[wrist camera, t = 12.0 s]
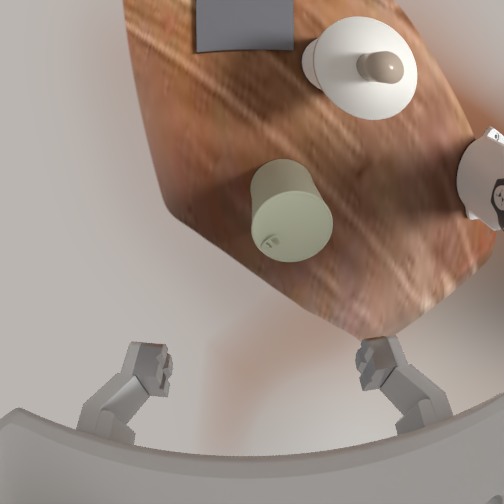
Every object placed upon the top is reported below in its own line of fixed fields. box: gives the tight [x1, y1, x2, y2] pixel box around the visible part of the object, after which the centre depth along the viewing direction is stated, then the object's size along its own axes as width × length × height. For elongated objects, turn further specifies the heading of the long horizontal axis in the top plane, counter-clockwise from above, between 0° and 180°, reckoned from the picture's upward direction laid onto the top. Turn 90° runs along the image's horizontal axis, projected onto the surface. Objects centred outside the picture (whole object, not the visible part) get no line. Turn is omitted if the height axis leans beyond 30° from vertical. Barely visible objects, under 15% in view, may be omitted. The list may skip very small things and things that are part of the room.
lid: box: [313, 17, 417, 120], centre depth 19 cm, size 11×11×5 cm
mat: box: [196, 0, 294, 53], centre depth 24 cm, size 12×12×1 cm
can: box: [250, 159, 333, 262], centre depth 35 cm, size 9×9×12 cm
